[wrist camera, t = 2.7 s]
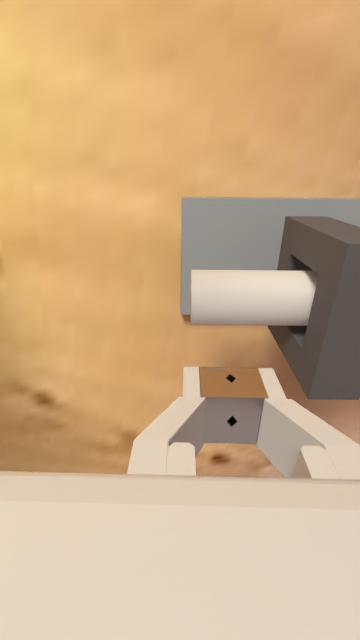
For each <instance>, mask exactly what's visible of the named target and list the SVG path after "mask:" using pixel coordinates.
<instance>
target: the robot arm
mask: <svg viewBox="0 0 360 640" xmlns="http://www.w3.org/2000/svg"><path fill="white" fill-rule="evenodd" d="M203 443H237V444H257V447H258V448H259V449H260V450H261V451H262V452H263V454H264V455H265V456H266V457H267V458H268V459H269V460H270V462H271V463H272V464H273V465H274V466H275V467H276V468H277V470H278V471H279V472H280V473H281V474H282V475H283V476H284V477H285V478H277V477H235V476H196V467H195V457H196V456H197V454H198V452H199V451H200V449H201V448H202V446H203ZM0 640H360V445H358V444H357V443H356V442H354V441H353V440H351V439H350V438H348V437H347V436H345V435H344V434H342V433H341V432H339V431H338V430H336V429H335V428H333V427H332V426H330V425H329V424H327V423H326V422H325V421H323V420H322V419H320V418H319V417H317V416H316V415H314V414H313V413H311V412H310V411H308V410H307V409H305V408H304V407H302V406H301V405H299V404H298V403H296V402H295V401H294V400H292V399H287V398H286V396H285V393H284V391H283V389H282V387H281V385H280V382H279V380H278V378H277V376H276V374H275V371H274V369H272V368H221V367H196V366H184V368H183V397H178V398H177V399H176V400H175V401H174V402H173V403H172V404H171V405H170V406H169V407H168V408H167V409H166V410H164V411H163V412H162V413H161V414H160V415H159V416H158V417H157V418H156V419H155V420H154V421H153V422H152V423H151V424H150V425H149V426H148V427H147V428H146V429H145V430H144V431H143V432H142V433H141V434H140V435H139V436H138V437H137V438H136V439H135V440H134V442H133V447H132V452H131V457H130V462H129V466H128V471H127V474H112V473H72V472H32V471H0Z"/></svg>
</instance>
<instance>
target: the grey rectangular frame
mask: <svg viewBox="0 0 360 640" xmlns="http://www.w3.org/2000/svg"><path fill="white" fill-rule="evenodd" d="M277 270H285V271H315V272H316V273H317V274H319V276H318V280H317V285H316V289H315V294H314V298H313V302H312V307H311V311H310V316H309V320H308V325H307V326H289V325H268V328H269V330H270V331H271V333H272V335H273V337H274V339H275V340H276V342H277V344H278V346H279V348H280V349H281V351H282V353H283V355H284V357H285V358H286V360H287V362H288V364H289V366H290V367H291V369H292V371H293V373H294V374H295V376H296V378H297V380H298V382H299V383H300V385H301V387H302V389H303V391H304V392H305V394H306V396H307V398H308V399H342V400H359V398H360V227H358V226H355V225H352V224H349V223H345V222H342V221H339V220H336V219H333V218H330V217H327V216H286V217H285V223H284V229H283V236H282V242H281V248H280V255H279V261H278V267H277Z"/></svg>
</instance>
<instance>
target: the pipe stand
mask: <svg viewBox="0 0 360 640" xmlns="http://www.w3.org/2000/svg"><path fill="white" fill-rule="evenodd" d="M286 216H327V217H330V218H333V219H336V220H339V221H342V222H345V223H349V224H352V225H355V226H358V227H360V199H339V198H242V197H182V252H181V315H190V322H191V325H289V326H307V325H308V320H309V316H310V311H311V307H312V302H313V298H314V294H315V289H316V285H317V280H318V276H319V274H317V273H316V272H315V271H285V270H277V267H278V261H279V255H280V248H281V242H282V236H283V229H284V223H285V217H286Z"/></svg>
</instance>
